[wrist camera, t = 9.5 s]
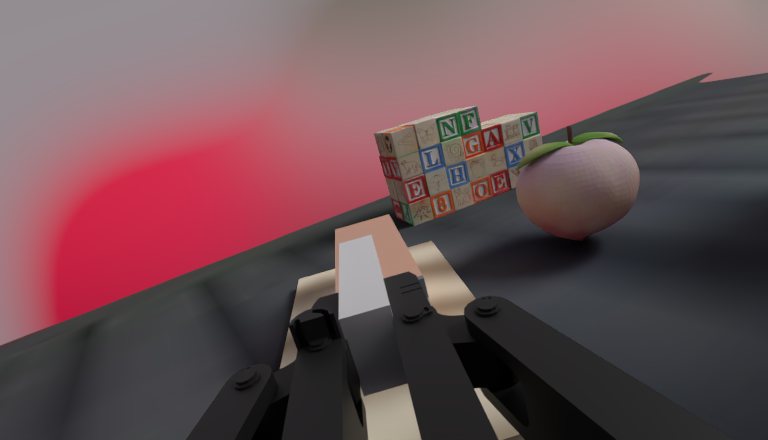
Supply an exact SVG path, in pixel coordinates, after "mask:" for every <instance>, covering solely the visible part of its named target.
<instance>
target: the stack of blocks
mask: <svg viewBox="0 0 768 440" xmlns="http://www.w3.org/2000/svg"><path fill="white" fill-rule="evenodd" d="M374 135H375V138H376V142H377V146H378V150H379V153H380V156H379V157H380V161H381V165H382V168H383V172H384V176H385V177H386V182H387V185H388V189H389V192H390V196H391V200H392V204H393V207H394V211H395V215H396V217H397V218H399V219H401V220H403V221H405V222H407V223H409V224H411V225H413V226H415V225H418V224H421V223H424V222H426V221H429V220H432V219H434V218H438V217H440V216H443V215H446V214H448V213H451V212H454V211H456V210H459V209H462V208H465V207H467V206H470V205H473V204H474V203H477V202H479V201H482V200H485V199H487V198H490V197H492V196H495V195H498V194H500V193H503V192H506V191H508V190H510V189H514V188H516V184H517V179H518V176H519V173H520V171H521V169H522V168H523V167H522V168H520V169H518V170H516V168H517V166H518V164H519V163H520V161H521V160H522V158H523V157H524V156H525V155H526V154H527V153H528V152H530V151H531V150H532V149H534V148H536V147H538V146H541V145H542V138H541V134H540V129H539V122H538V116H537V112H528V113H520V114H510V115H505V116H502V117H499V118H496V119H493V120H488V121H485V122H482V123H480V118H479V113H478V108H477V106H473V107H467V108H460V109H453V110H449V111H445V112H442V113H439V114H435V115H431V116H428V117H425V118H422V119H418V120H416V121H413V122H409V123H406V124H403V125H400V126H397V127H394V128H390V129H387V130H383V131H380V132H377V133H374Z"/></svg>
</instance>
